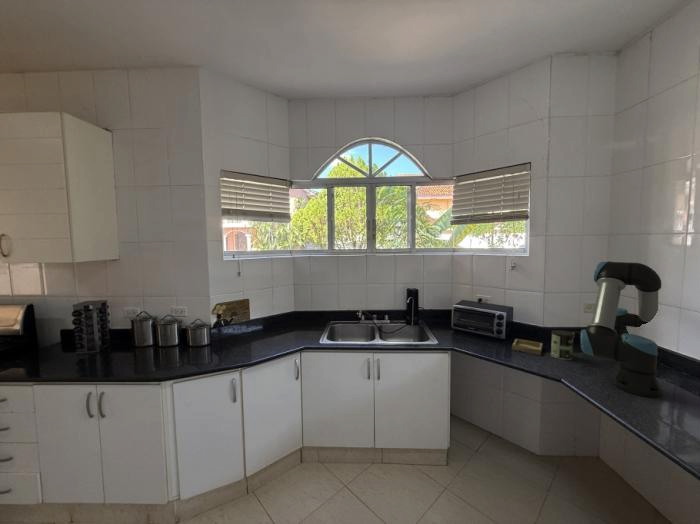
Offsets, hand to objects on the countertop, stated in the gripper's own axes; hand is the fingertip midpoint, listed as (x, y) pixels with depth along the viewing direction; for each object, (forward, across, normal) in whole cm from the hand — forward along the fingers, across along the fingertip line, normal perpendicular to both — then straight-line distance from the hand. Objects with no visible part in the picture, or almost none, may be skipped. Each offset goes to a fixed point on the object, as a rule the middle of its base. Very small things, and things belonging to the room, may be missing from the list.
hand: (575, 339), depth 172 cm
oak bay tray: (+19, +14, -9) cm, 26 cm away
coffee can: (+10, 0, -9) cm, 13 cm away
